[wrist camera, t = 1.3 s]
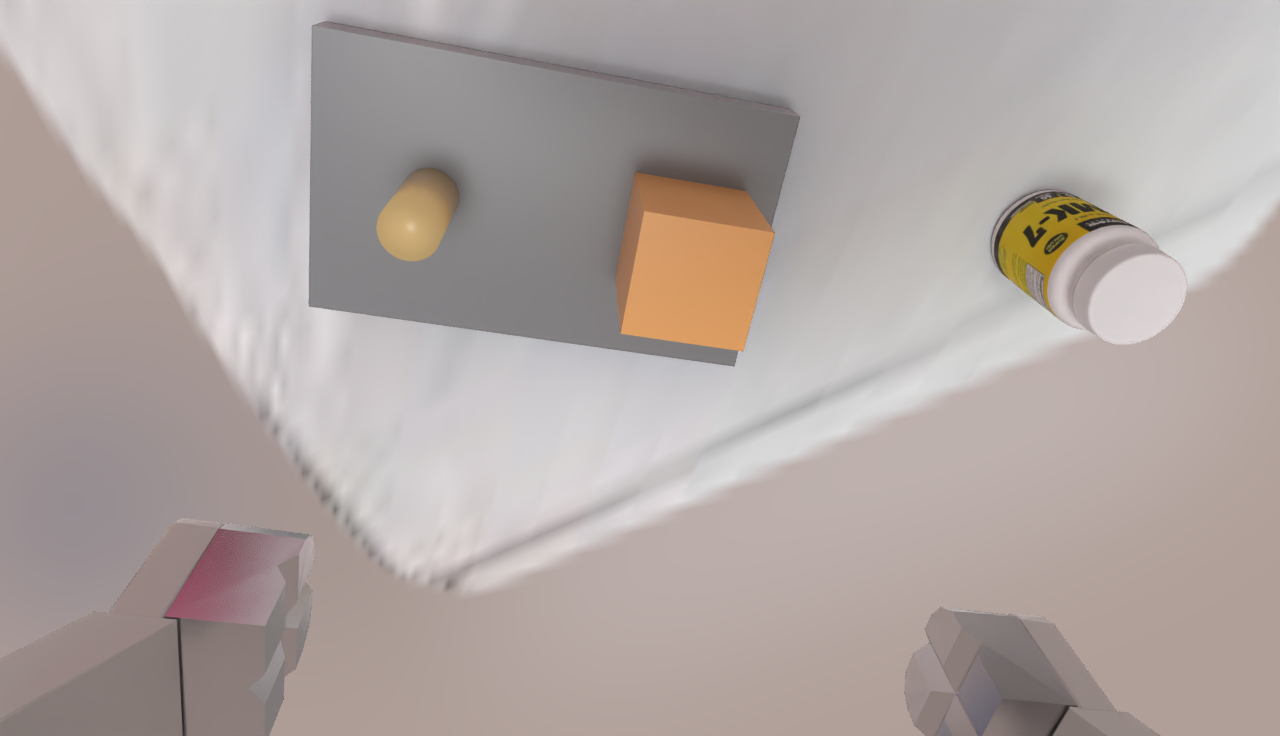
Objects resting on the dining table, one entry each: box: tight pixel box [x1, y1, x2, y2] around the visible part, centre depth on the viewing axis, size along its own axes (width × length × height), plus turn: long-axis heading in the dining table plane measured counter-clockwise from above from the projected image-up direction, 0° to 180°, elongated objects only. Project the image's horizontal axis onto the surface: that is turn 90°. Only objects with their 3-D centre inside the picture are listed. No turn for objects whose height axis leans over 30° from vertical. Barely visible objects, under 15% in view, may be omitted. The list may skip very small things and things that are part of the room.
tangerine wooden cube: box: [615, 172, 775, 351], centre depth 34 cm, size 5×5×6 cm
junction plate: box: [309, 22, 800, 366], centre depth 35 cm, size 20×12×7 cm, turn 79°
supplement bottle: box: [991, 190, 1187, 345], centre depth 37 cm, size 5×5×8 cm
